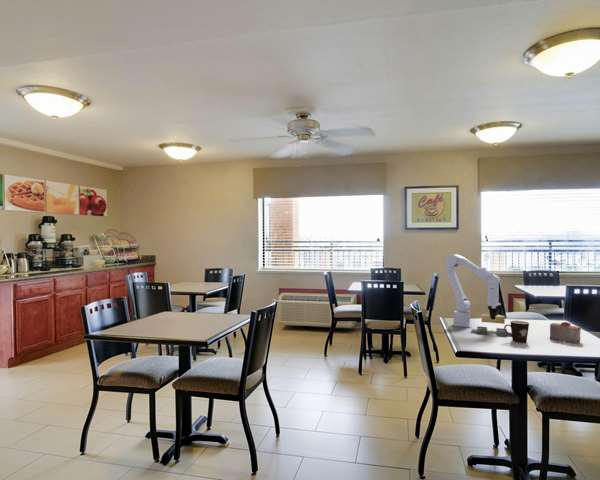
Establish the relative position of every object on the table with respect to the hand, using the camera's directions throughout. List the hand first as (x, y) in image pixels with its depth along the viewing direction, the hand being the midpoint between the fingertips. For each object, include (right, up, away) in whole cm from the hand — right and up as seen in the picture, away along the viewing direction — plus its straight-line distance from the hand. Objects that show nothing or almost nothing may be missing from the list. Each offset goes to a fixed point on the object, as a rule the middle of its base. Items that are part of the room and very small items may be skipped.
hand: (492, 318), depth 235 cm
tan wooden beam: (0, -2, 0) cm, 2 cm away
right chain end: (+1, -7, -12) cm, 14 cm away
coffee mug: (0, -7, -25) cm, 26 cm away
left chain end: (-11, -6, -7) cm, 15 cm away
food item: (+27, -7, -23) cm, 36 cm away
